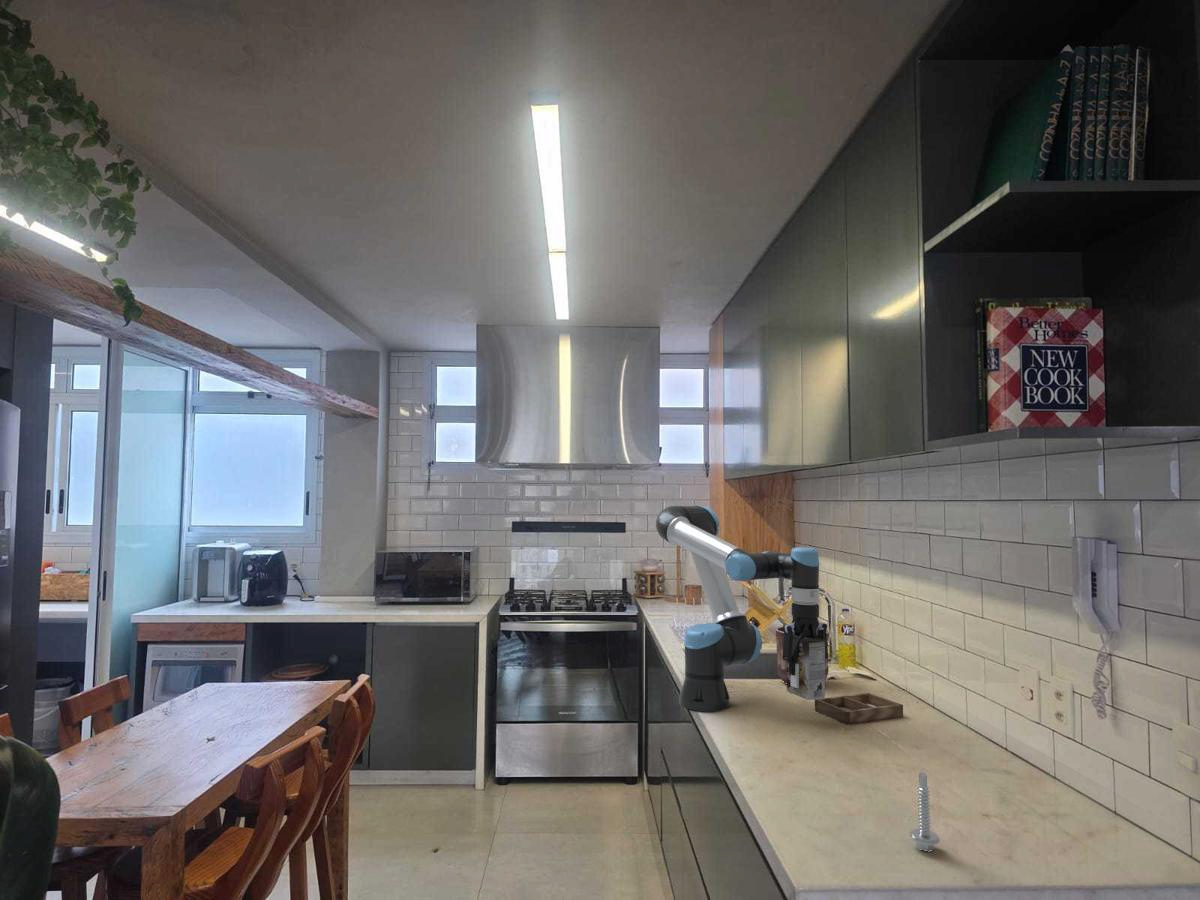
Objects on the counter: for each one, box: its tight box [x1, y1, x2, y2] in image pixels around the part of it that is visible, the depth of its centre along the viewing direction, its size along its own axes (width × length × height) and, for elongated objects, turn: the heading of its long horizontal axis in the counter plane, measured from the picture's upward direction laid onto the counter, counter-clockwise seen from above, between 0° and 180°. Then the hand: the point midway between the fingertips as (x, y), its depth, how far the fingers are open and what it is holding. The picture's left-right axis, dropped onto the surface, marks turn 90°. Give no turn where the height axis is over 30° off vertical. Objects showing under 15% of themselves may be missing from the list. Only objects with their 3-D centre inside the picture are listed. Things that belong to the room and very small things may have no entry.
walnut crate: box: [814, 692, 904, 726], centre depth 198 cm, size 20×14×4 cm
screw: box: [909, 771, 941, 851], centre depth 120 cm, size 13×5×5 cm
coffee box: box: [786, 635, 826, 701], centre depth 192 cm, size 9×6×16 cm
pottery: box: [775, 626, 830, 684], centre depth 232 cm, size 18×18×18 cm
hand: (805, 685), depth 192 cm, fingers closed on coffee box, 7 cm apart
